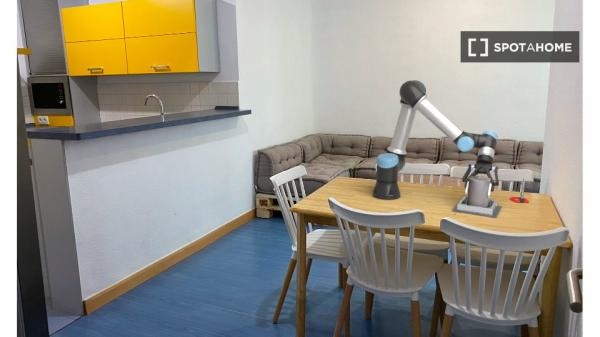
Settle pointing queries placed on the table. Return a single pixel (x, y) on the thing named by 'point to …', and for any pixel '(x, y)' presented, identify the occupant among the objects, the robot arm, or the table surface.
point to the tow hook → (521, 198)
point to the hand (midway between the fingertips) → (477, 195)
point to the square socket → (478, 208)
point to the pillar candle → (478, 191)
